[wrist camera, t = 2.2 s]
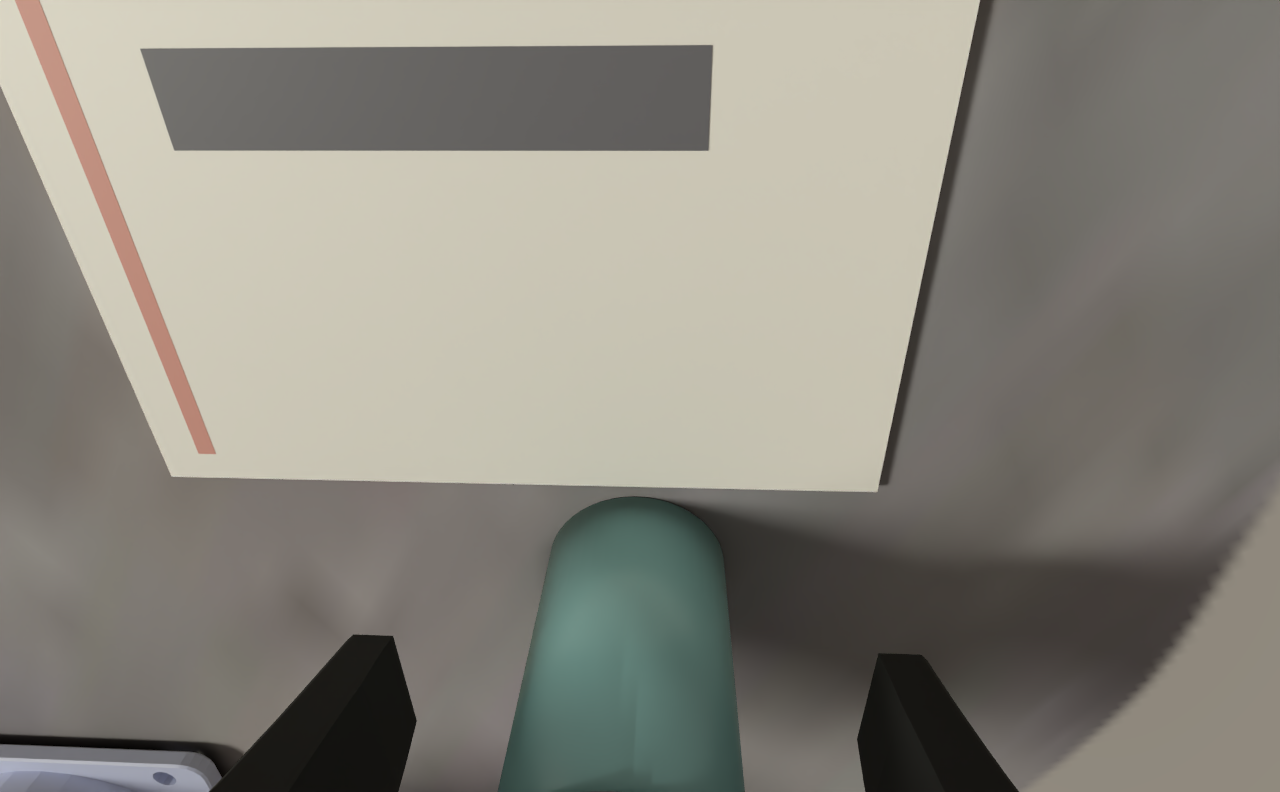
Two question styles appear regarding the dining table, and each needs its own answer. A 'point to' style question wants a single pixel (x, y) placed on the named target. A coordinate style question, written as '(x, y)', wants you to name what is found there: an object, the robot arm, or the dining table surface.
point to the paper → (501, 228)
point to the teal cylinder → (629, 660)
